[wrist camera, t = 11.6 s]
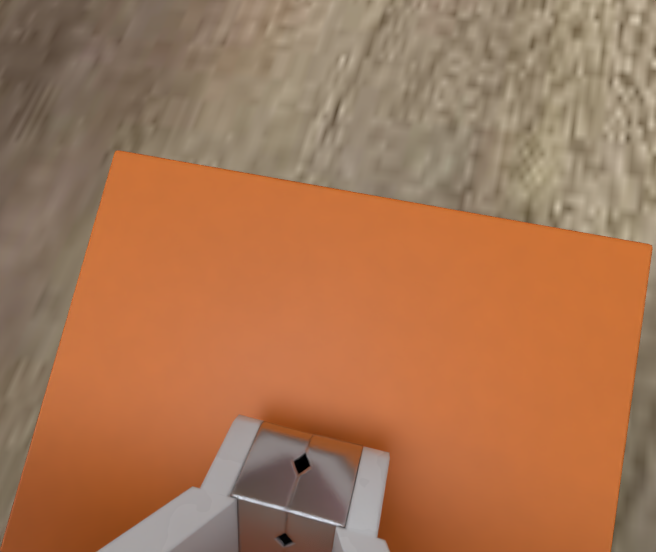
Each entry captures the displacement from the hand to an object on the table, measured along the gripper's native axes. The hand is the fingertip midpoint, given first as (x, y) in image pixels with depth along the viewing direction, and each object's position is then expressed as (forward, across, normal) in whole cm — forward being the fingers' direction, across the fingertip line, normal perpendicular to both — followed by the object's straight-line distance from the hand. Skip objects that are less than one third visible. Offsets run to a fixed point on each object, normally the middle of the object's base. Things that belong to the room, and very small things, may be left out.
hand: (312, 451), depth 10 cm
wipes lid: (0, 0, +3) cm, 3 cm away
